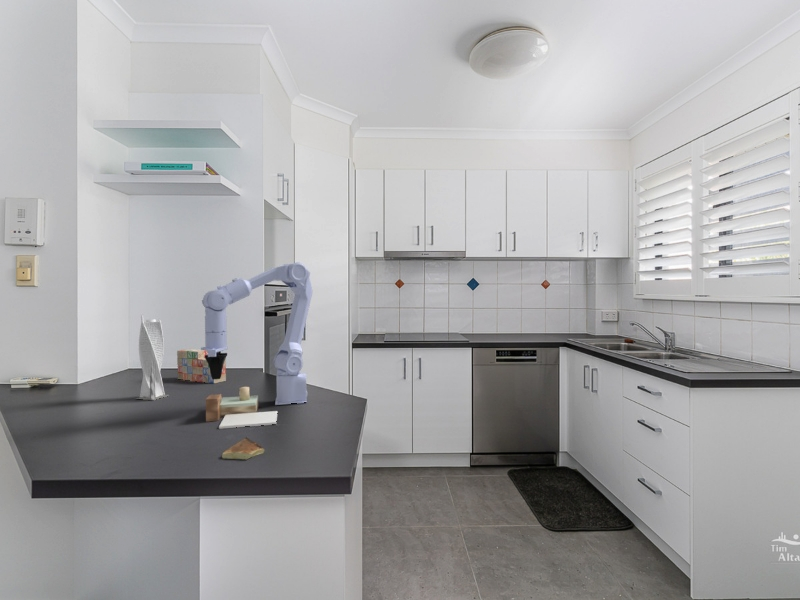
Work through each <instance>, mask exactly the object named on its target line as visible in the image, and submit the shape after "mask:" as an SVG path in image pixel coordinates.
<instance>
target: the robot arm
mask: <svg viewBox="0 0 800 600" xmlns="http://www.w3.org/2000/svg"><path fill="white" fill-rule="evenodd" d="M310 275H311V272H310V270H309V269H308V268H307V266H306V265H305V264H303V263H302V262H293V263H286V264H283V265H279V266H276V267H273V268H269V269H268V270H266V271H264V272H261V273H259V274H258V275H255V276H253V277H251V278H249V279H247V280H246V279H244V278H234V279H233V278H232V281H231V282H229V283H226V284H225V285H219V286H216V288H217V289H215V290H209V291H207V292H205V294H204V295H203V298H202V300H201V304H202V306H203V307H204V310H205V311H204V313H205V315H204V339H205V340H204V344H205V345H204V346H201V347H200V349H201V350H205V351H207V352H208V355H205V359H206V361H207V363H208V365H209V368H210V372H211V376H212V379H220V378H221V375H222V369H223V364H224V361H225V358H226V359H227V356H228V353H227V352H223V351H227V350H228V345H227V344H228V342H227V310H226V309H227V308H228V306H229V305H233V304H235V303H237V302H238V301H240V300H243V299H245V298H247V297H249V296H251V293H252V291H253V290H254V289H256V288H259V287H263V286H264V285H266V284H269V283H271V282H273V281H278V282H279V281H280V282H282V283H283V284H285V286H287V287H289V289H290V290H291V291H292V293H293V294H294V296H293V302H292V305H291V308H290V309H291V310H290V314H289V318H288V321H287V322H288V323H287V326H286V331H285V334H284V335H285V336H284V340H283V343H281V345H279V348H278V352H277V353H276V354H275V356H274V357H273V366H274V367H275V369H276V373H275V374H276V398H275V402H274V403H275V404H274V405H275V406H279V405H280V406H281V405H292V404H291V403H297V404H305V403H304V402H307V403H308V401H307V400H308V399H307V397H308V390H307V373H302V372H300V371H302V368H303V365H304V362H303V353H304V352H303V349H302V345H301V344H302V339H303V335H304V331H305V326H306V322H307V318H308V314H309V308H310V304H311V300H312V297H313V287H312V283H311V278H310Z"/></svg>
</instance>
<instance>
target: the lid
mask: <svg viewBox="0 0 800 600" xmlns="http://www.w3.org/2000/svg"><path fill="white" fill-rule="evenodd" d="M238 390H239V392H238V393H239V395H238V396H224V397H222V396H221V403H220V408H225V407H240V406H255V405H256V403H257V400H258V401H259V395H258V394H256V395H250V386H241V387H239V388H238Z"/></svg>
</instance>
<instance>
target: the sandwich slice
mask: <svg viewBox="0 0 800 600" xmlns="http://www.w3.org/2000/svg"><path fill="white" fill-rule="evenodd" d="M264 452H265V448H263V447H262V446H261V445H259V443H257V442H255V441H253V440H252V439H249V438H248V437H247V436H246V437H244V439H241V440H240V441H239V442H236V443H235V444H234V445H232V446H230V447H229V448H227V449H226V450H225V451H223V452H222V455H221V458H222V459H232V460H233V459H235V460H248V459H250V458H252V457H255V456H258V455H259V456H260V455H261V454H262V455H263V454H264Z"/></svg>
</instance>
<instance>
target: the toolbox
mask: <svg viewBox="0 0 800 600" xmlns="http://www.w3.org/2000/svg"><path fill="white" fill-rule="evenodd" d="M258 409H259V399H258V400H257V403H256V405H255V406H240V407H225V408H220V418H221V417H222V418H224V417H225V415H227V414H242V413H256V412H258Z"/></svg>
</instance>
